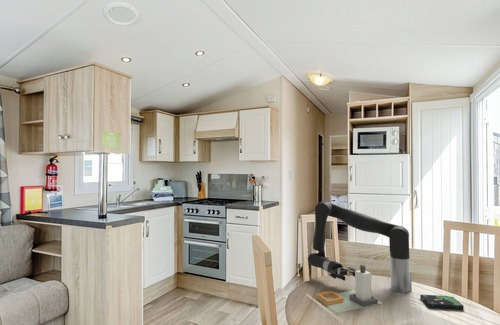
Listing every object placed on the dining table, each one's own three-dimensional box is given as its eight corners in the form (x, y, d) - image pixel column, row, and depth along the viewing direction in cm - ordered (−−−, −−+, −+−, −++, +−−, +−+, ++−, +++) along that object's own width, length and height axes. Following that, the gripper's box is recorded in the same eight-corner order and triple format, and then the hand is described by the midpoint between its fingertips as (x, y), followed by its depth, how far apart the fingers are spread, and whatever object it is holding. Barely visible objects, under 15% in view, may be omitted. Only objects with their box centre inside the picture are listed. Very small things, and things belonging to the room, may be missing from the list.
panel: (358, 291, 157) (358, 285, 157) (382, 305, 141) (382, 298, 141) (315, 299, 148) (315, 293, 148) (336, 315, 132) (336, 308, 132)
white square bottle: (364, 298, 146) (363, 263, 147) (371, 302, 142) (370, 266, 142) (355, 299, 145) (355, 264, 145) (362, 304, 140) (362, 268, 140)
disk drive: (428, 309, 137) (464, 311, 134) (428, 303, 137) (464, 305, 135) (420, 299, 147) (452, 301, 145) (419, 294, 147) (452, 295, 145)
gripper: (321, 262, 164) (339, 271, 149) (343, 259, 169) (363, 268, 154) (321, 276, 164) (340, 287, 149) (343, 272, 169) (363, 282, 153)
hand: (351, 277), depth 151 cm, fingers open, 8 cm apart
